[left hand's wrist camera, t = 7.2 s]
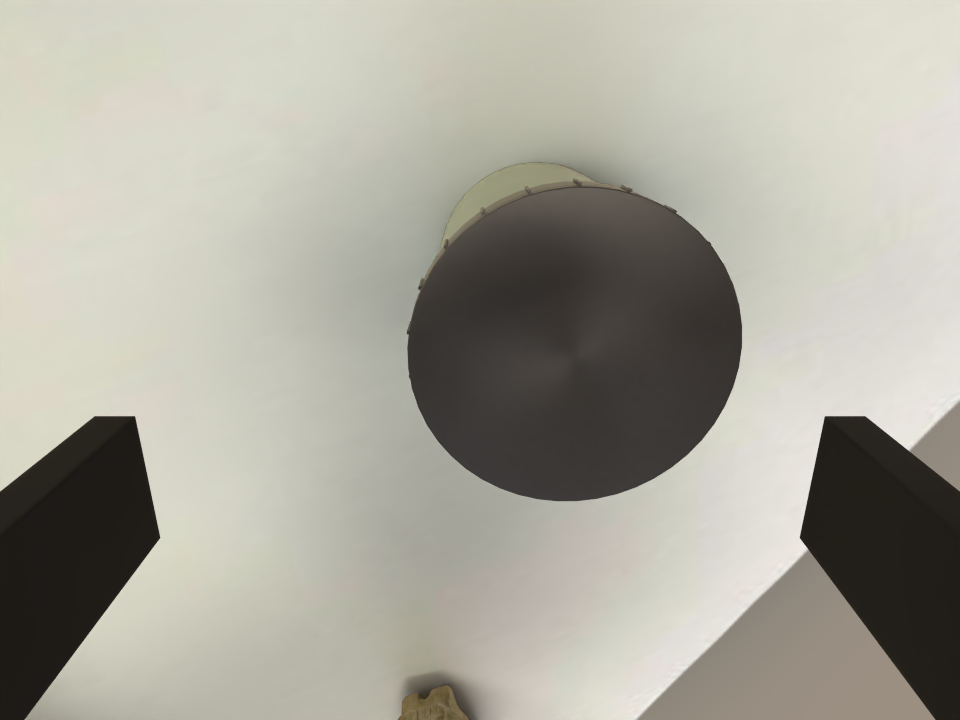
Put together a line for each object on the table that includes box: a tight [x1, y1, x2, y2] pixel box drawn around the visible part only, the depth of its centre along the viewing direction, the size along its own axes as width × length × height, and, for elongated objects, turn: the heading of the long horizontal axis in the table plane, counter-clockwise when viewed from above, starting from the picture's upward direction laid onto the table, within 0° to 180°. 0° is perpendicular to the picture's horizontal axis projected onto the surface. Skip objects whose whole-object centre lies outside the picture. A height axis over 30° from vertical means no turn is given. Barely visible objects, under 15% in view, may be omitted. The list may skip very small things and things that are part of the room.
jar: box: [440, 163, 597, 251], centre depth 29 cm, size 10×10×15 cm
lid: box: [407, 179, 742, 501], centre depth 22 cm, size 11×11×2 cm
